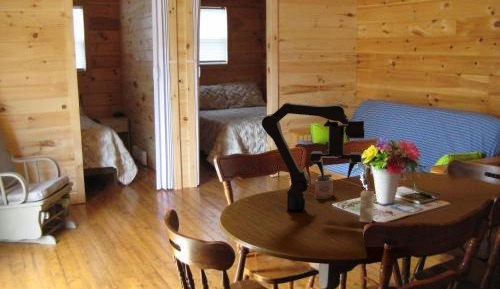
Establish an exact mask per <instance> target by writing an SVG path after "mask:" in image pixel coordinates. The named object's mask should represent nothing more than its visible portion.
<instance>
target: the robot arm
mask: <svg viewBox="0 0 500 289" xmlns="http://www.w3.org/2000/svg"><path fill="white" fill-rule="evenodd" d="M289 114H291V115H300V116H303V115H304V116H312V117H313V116H314V117H320V118H323V119H326V122H325V123H324V124H323V127H326V128H327V127H328V141H325V147H324V148H325V149H324V150H325V151H327V152H328V153H323V152H322V151H321V150H318V151H317V150H312V152H311V153H310V160H309V161H311V162H313V163H314V164H316V165H317V168H318V169H319V172H320V175H322V178H323V179H324V175H325V171H324V162H323V159H325V160H326V159H327V160H349V163H348V169H347V180H349V179H350V176H351V174H352V171H353V169H354V167H355V165H358V163H362V153H361V152H359V151H357V152H356V151H351V152H350V154H348V153H345V136H346V137H348V139H354V140H355V139H356V140H357V139H358V140H359V139H360V140H362V139H363V140H364V139H365V121H364V120H361V119H360V120H350V119H349V117H347V115H346V113H345V109H344V107H343V106H342V104H340V103H339V104H338V103H337V104H336V103H335V104H334V103H333V104H326V105H324V104H323V105H317V104H316V105H315V104H304V103H303V104H302V103H293V102H292V103H291V102H285V103H283V104H282V105H281V107H280V108H278V109H277V110H276V111H275V112H274V113H270V114H267V115H266V116H264V118H263V119H262V120H261V127H262V129H263V130H264V131H265V133H266V134H267V135H268V136H269V137H270V138H271V139H272V141H273V143H274V145H275V147H276V149H277V151H278V152H279V154H280V157H281V158H282V160H283V163H284V164H285V167H286V169H287V170H288V172H289V178H290V181H291V182H290V183H291V184H290V185H289V187H288V190H287V191H286V193H287V195H286V196H287V198H286V212H288V213H289V212H292V213H304V210H306V197H305V192H307V190H308V187H309V185H310V176H309V175H308V173H307V170H306V168H303V169H302V168H300V167H299V165H298V163H297V161H296V159H295V157H294V155H293V153H292V151H291V148H290V147H289V145H288V143H287V141H286V139H285V137H284V135H283V131H282V126H281V123H280V121H281V120H282V119H284V118H285V117H286V116H287V115H289ZM339 122H340V123H339Z"/></svg>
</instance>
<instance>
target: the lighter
mask: <svg viewBox="0 0 500 289" xmlns="http://www.w3.org/2000/svg"><path fill="white" fill-rule="evenodd" d="M314 183H315V184H314V188H315V189H314V191H315V192H314V199H318V200H319V199H321V200H322V199H323V200H324V199H330V198H331V197H332V196H333V194H334V192H333V189H334V186H333V185H334V179H332V173H328V174H327V173H326V174H324V179H323V178H322V175H321V174H319V175H317V179H315V180H314Z"/></svg>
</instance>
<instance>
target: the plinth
mask: <svg viewBox="0 0 500 289" xmlns="http://www.w3.org/2000/svg"><path fill="white" fill-rule="evenodd" d="M382 213H383V210H381V209H380V210H378V209H373V216H382Z"/></svg>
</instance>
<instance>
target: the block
mask: <svg viewBox="0 0 500 289" xmlns="http://www.w3.org/2000/svg"><path fill="white" fill-rule="evenodd" d="M374 194H375V191H374V190H373V191H372V190H364V189H363V190H362V191H361V192H360V205H359V222H360V223H361V222H362V223H370V224H371V223H372V222H373V219H374V215H373V210H374V201H375V196H374Z"/></svg>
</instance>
